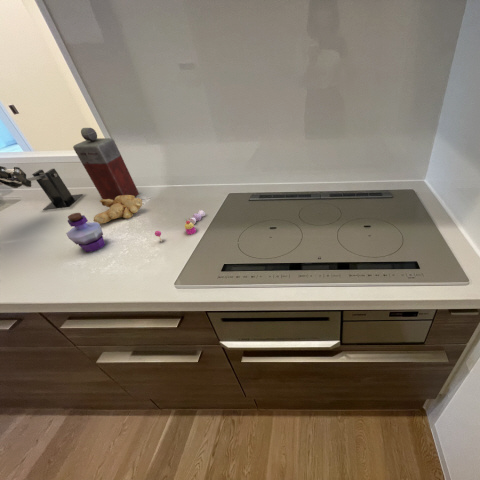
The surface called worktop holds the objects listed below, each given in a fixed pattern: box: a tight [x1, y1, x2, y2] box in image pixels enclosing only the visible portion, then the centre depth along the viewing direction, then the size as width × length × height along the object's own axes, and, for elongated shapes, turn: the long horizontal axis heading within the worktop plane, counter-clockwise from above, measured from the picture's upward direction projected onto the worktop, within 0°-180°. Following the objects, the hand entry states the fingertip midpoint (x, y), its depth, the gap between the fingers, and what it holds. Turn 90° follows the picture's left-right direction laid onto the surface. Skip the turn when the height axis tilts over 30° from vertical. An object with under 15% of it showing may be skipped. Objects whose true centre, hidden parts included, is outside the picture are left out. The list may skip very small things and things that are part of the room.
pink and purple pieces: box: [154, 209, 206, 243], centre depth 88 cm, size 18×8×6 cm, turn 163°
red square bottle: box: [72, 127, 140, 200], centre depth 100 cm, size 9×11×28 cm
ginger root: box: [92, 195, 143, 225], centre depth 97 cm, size 16×16×8 cm
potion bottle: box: [65, 212, 106, 253], centre depth 79 cm, size 9×9×12 cm
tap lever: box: [8, 171, 48, 188], centre depth 93 cm, size 17×3×3 cm, turn 13°
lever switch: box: [31, 168, 84, 211], centre depth 102 cm, size 11×9×14 cm
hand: (23, 184), depth 89 cm, fingers closed on tap lever, 3 cm apart
